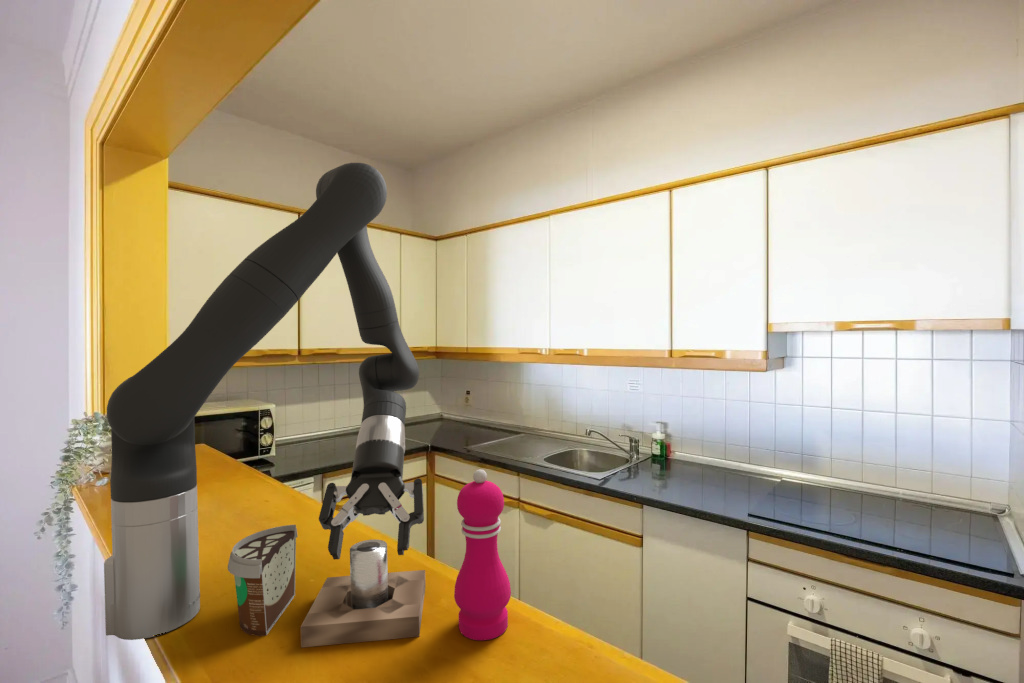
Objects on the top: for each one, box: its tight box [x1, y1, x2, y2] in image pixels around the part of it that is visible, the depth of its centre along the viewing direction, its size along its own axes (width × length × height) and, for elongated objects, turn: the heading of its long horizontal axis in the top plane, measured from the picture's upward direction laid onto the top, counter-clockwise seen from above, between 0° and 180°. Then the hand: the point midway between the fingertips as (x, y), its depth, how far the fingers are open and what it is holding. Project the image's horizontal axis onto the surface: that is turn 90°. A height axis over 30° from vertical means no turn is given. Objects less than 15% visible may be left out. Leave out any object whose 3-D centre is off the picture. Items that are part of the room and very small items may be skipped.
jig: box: [300, 569, 426, 648], centre depth 64 cm, size 14×12×2 cm
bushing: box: [349, 539, 389, 610], centre depth 64 cm, size 5×5×9 cm
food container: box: [227, 524, 298, 637], centre depth 64 cm, size 12×6×10 cm, turn 4°
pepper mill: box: [453, 469, 512, 641], centre depth 61 cm, size 7×7×20 cm
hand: (368, 555), depth 64 cm, fingers open, 8 cm apart
